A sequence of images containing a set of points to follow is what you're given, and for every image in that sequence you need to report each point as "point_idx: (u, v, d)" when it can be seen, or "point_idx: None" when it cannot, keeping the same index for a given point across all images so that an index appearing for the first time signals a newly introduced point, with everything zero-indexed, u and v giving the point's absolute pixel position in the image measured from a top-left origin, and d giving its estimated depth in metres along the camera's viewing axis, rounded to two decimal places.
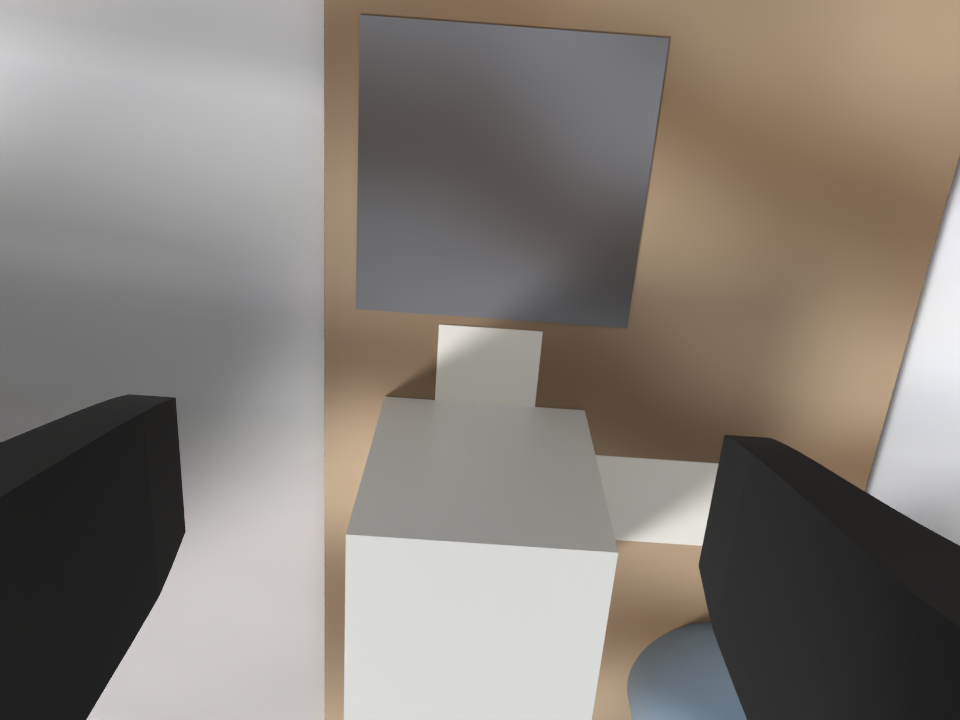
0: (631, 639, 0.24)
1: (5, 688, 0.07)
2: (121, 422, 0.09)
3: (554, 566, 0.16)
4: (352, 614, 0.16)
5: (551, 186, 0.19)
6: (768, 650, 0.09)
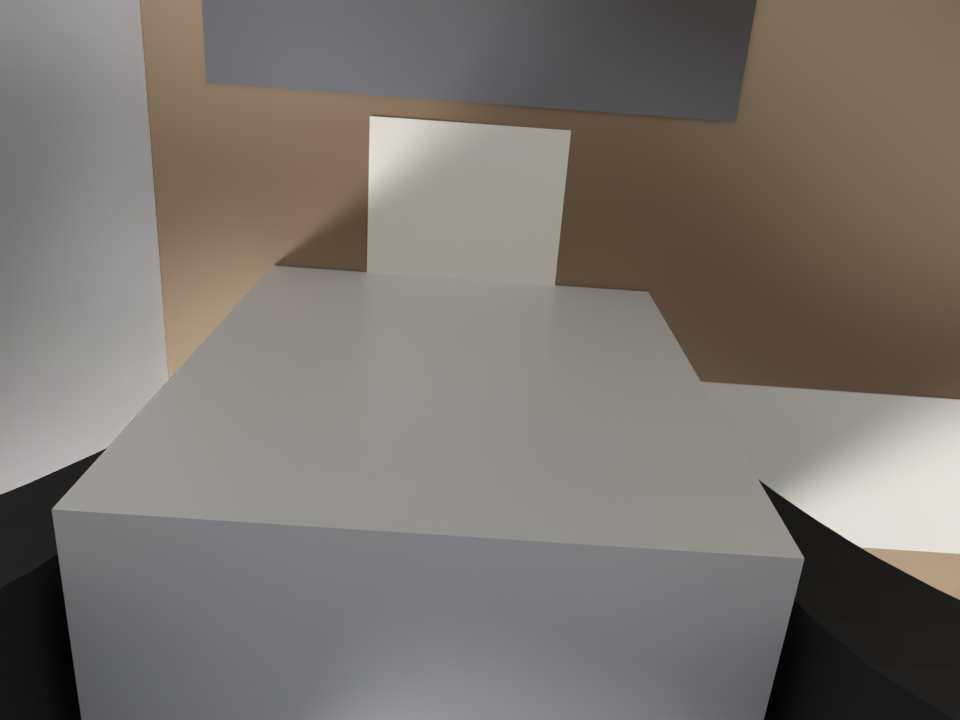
0: None
1: None
2: None
3: (627, 595, 0.06)
4: (101, 719, 0.06)
5: None
6: None
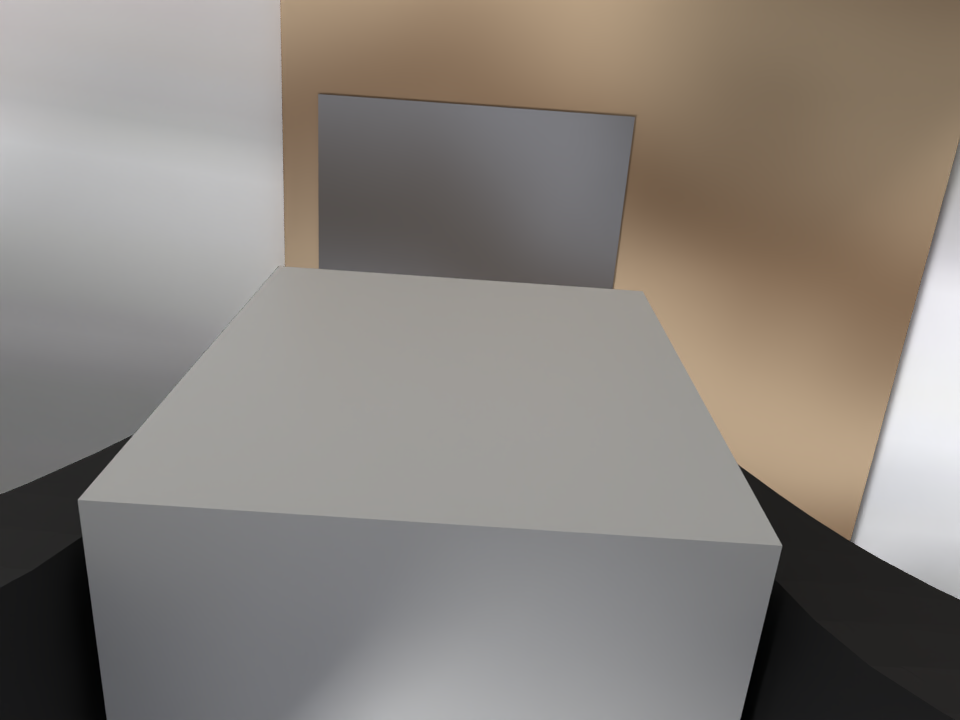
0: None
1: None
2: None
3: (617, 580, 0.06)
4: (122, 697, 0.07)
5: (517, 263, 0.18)
6: None
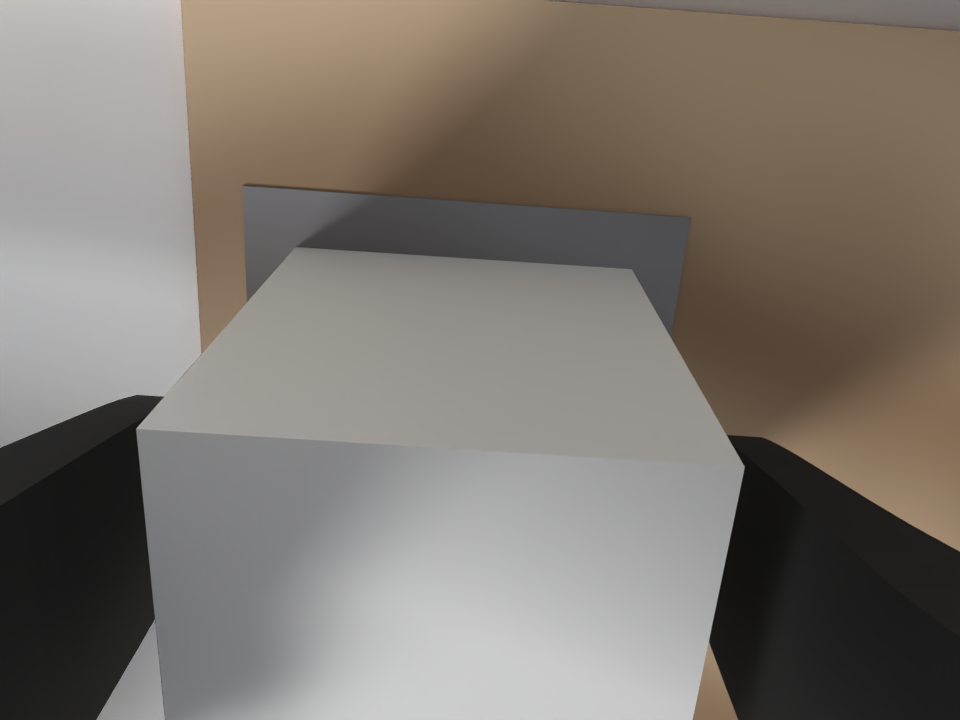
0: None
1: (17, 689, 0.07)
2: (131, 422, 0.09)
3: (601, 499, 0.07)
4: (170, 609, 0.08)
5: None
6: (758, 650, 0.09)
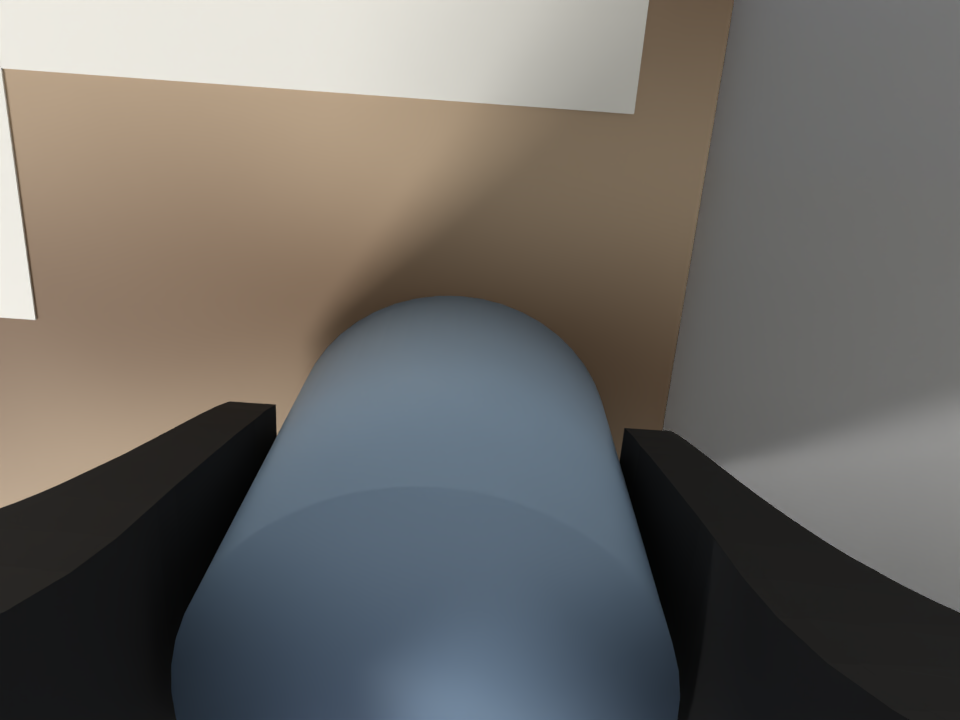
0: (286, 339, 0.12)
1: (149, 697, 0.07)
2: (237, 430, 0.09)
3: None
4: None
5: None
6: None
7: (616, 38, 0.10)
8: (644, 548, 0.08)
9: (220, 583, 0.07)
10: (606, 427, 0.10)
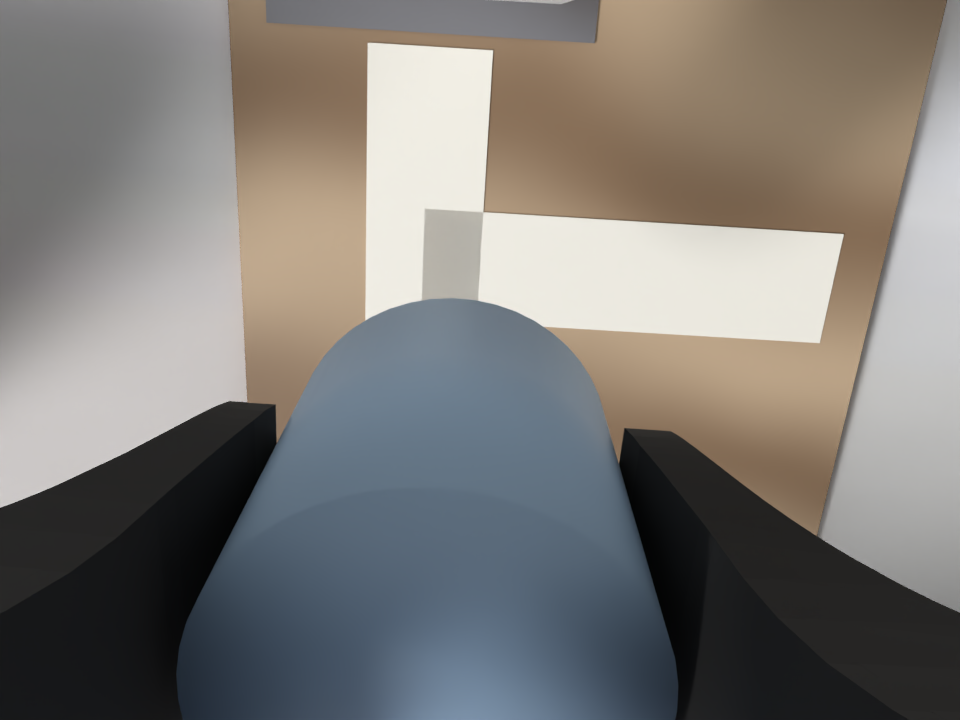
0: None
1: (149, 697, 0.07)
2: (236, 430, 0.09)
3: None
4: None
5: None
6: None
7: (813, 306, 0.19)
8: (640, 540, 0.08)
9: (219, 591, 0.07)
10: (602, 421, 0.10)
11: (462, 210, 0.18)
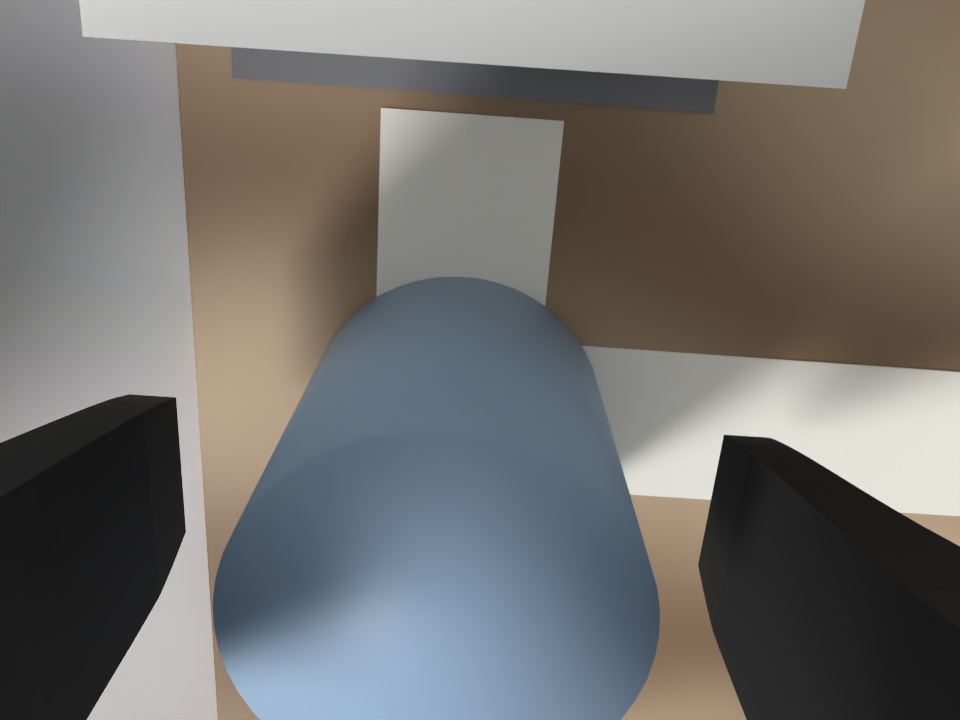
0: (701, 660, 0.15)
1: (6, 688, 0.07)
2: (122, 422, 0.09)
3: None
4: None
5: None
6: (767, 651, 0.09)
7: None
8: (627, 488, 0.09)
9: (252, 525, 0.08)
10: (594, 388, 0.11)
11: None
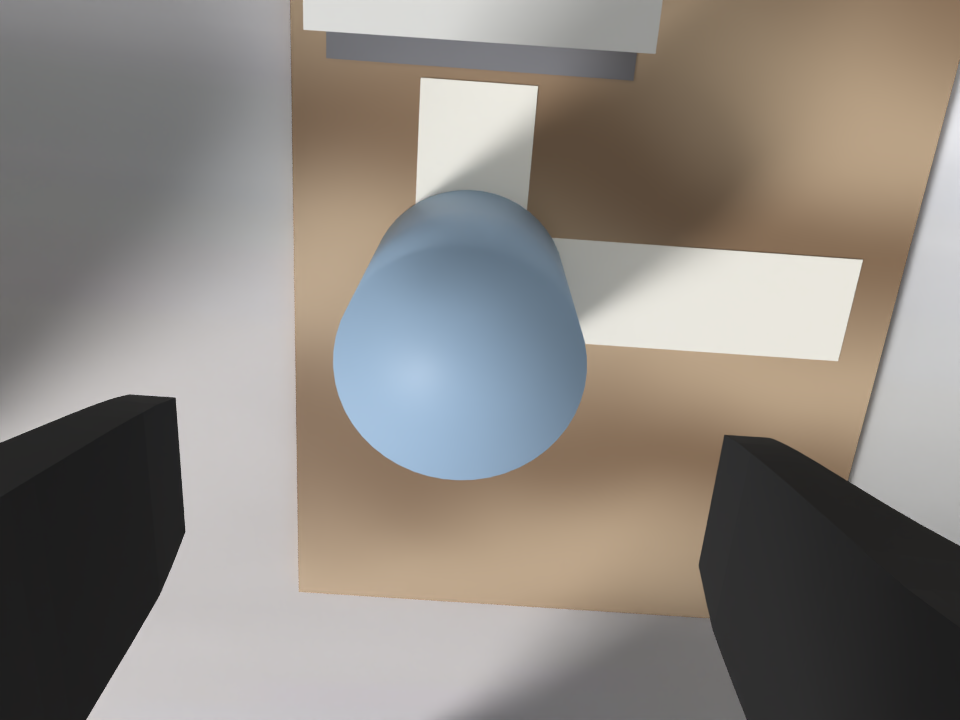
0: (638, 469, 0.21)
1: (5, 688, 0.07)
2: (121, 422, 0.09)
3: None
4: None
5: None
6: (767, 650, 0.09)
7: (832, 326, 0.20)
8: (572, 300, 0.16)
9: (358, 302, 0.14)
10: (557, 256, 0.18)
11: None
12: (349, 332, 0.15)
